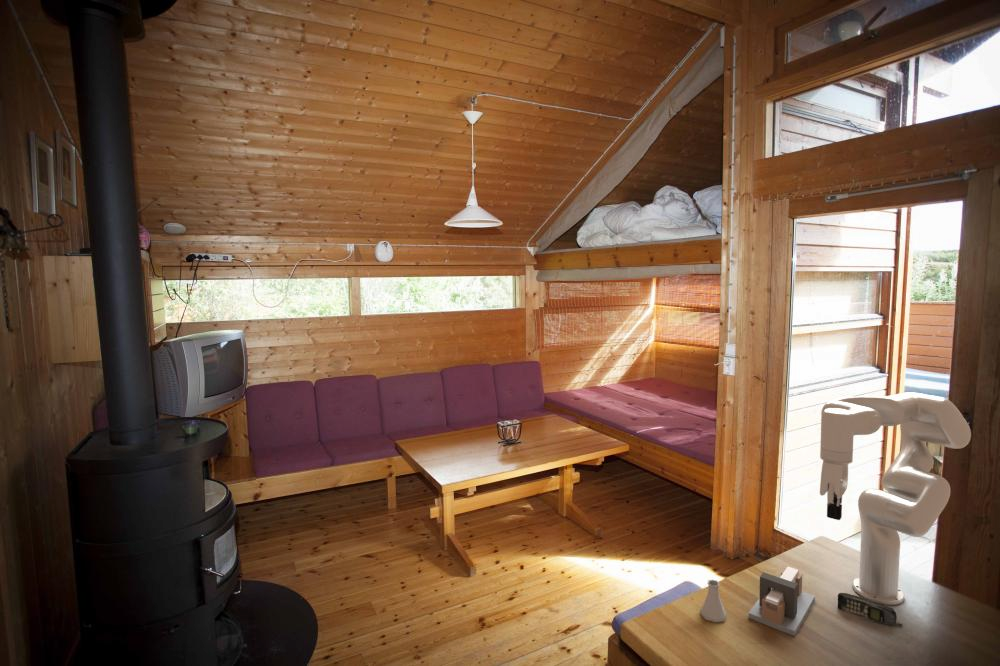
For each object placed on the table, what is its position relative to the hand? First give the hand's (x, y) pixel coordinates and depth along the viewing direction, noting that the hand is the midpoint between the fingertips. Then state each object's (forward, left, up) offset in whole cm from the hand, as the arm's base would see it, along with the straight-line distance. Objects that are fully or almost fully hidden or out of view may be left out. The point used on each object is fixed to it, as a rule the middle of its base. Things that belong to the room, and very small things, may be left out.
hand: (834, 517), depth 148 cm
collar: (+10, -11, -27) cm, 31 cm away
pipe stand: (+6, -11, -29) cm, 32 cm away
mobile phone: (-5, +8, -30) cm, 31 cm away
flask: (+21, -25, -29) cm, 44 cm away
